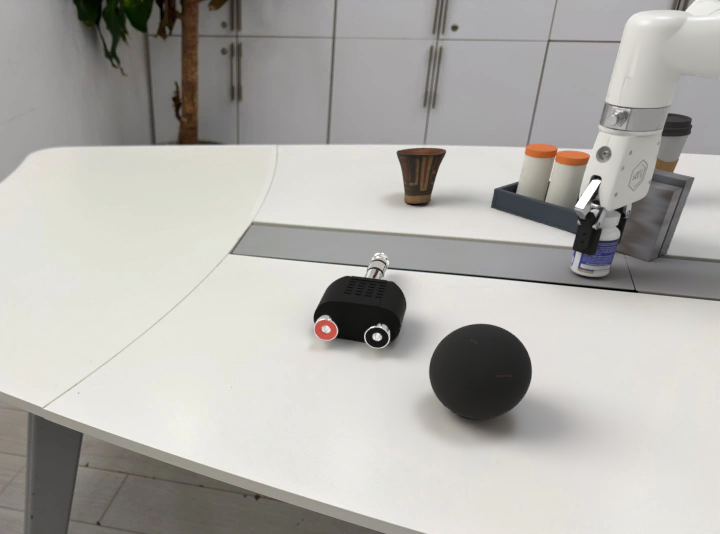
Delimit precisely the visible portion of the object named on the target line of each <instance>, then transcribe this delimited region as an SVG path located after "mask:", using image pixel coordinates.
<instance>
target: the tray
mask: <svg viewBox="0 0 720 534" xmlns="http://www.w3.org/2000/svg"><path fill="white" fill-rule="evenodd" d="M518 183H519V180H518V181H515V182H512V183H509V184H505V185H502V186H500V187H496V188H494V190H493V193H492V194H493V195H492V199H491V202H490V203H491V204H490V208H493V209H496V210H498V211H502V212H505V213H508V214H512V215H514V216H518V217H520V218H524V219H527V220H531V221H534V222H536V223H540V224H543V225H547V226H550V227H553V228H557V229H559V230H563V231H565V232H569V233H572V234H574V235H576V233H577V229H578V224H577V222H578V217H577V214H576V212H575V210H572V209H569V208H565V207H562V206H558V205H555V204H551V203H548V202H545V200H546V196H547V192H548V188H549V184H550V180H549V183H548V187H547V191H546V195H545V199H544V201H541V200H537V199H534V198H530V197H527V196H523V195H520V194H516V191H517V187H518ZM579 193H580V191H579ZM578 201H579V195H578V199H577V202H576V204H577V203H578ZM593 204H597V205H600V201H599V200H594V201H593ZM591 210H593V208H591ZM591 210H590V211H591Z"/></svg>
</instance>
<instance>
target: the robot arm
mask: <svg viewBox="0 0 720 534" xmlns="http://www.w3.org/2000/svg"><path fill="white" fill-rule="evenodd" d="M616 54H617V55H616V58H615V61H614V65H613V69H612V73H611V77H610V80H609V85H608V88H607V92H606V96H605V100H604V103H603V108H602V111H601V115H600V120H599V123H598V126H597V127H598V129H599V131H598V134H597V135H596V136H597V137H596V139H595V141H594V143H593V146H592V149H591V151H590V154H589V155H590V158H589V161H588V164H587V166H586V170H585V173H584V177H583V180H582V184H581V188H580V193H579V201H578V203H577V204H576V206H575V208H574V210H575V212H576V214H577V217H578V222H577V224H578V229H577V233H576V234H575V236H574V241H573V244H572V250H573V252H574V251H577V252H580V253H583V254H586V255H590V256H592V255H594V254H595V253H596V250H597V246H598V243H599V239H600V236H601V232H602V229H601V228H600V226H601V223H602V221H603V219H604V217H605V215H606V212H607V210H608V211H612V210H614V211H617V212H619V213H620V214H621V216H620V220H619V223H618V225H617V226H616V227H617V228H618V229H619V231H620V238H619V241H618V244H619V243H620V241H621V237H622V234H623V231H624V228H625V224H626V221H627V219H626V218H627V217H629V215H630V213H631V207H632V205H633V204H634V203H635V202H636V201H638V200H640V199H642V198H644V197H645V196H646V195H647V193H648V190H649V187H650V183H651V180H652V176H653V172H654V169H655V165H656V161H657V157H658V152H659V148H660V142H661V136H662V131H663V128H664V125H665V122H666V118H667V115H668V113H670V109H671V105H672V103H673V99H674V97H675V94H676V93H675V92H676V90H677V86H678V83H679V80H680V77H682V76H690V77H698V78H704V79H705V78H706V79H714V80H720V0H694V1H693V2H692V3H691V4H690V5H689V6H688V7H686V9H685V11H684V10H677V9H652V10H642V11H639V12H635V13H634V14H632V15H631V16H630V17H629V18H628V19H627V21H626V23H625V25H624V28H623V31H622V34H621V39H620V43H619V46H618V49H617V53H616ZM594 200H599V201H600V205H597V204H593V201H594ZM591 208H593V209H597V210H599V212H598V214H597V216H596V217H595V215H594V213H593V212H591V211H590V210H591ZM624 217H625V218H624ZM618 244H617V245H618Z"/></svg>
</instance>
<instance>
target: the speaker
mask: <svg viewBox="0 0 720 534" xmlns="http://www.w3.org/2000/svg"><path fill="white" fill-rule="evenodd" d="M428 377H429V383H430V386H431V389H432V391H433V393H434V395H435V397H436V398H437V400H439V402H440V403H441V404H442V405H443V406H444V407H445V408H446V409H448V410H449V411H451V412H452V413H454V414H456V415H458V416H461V417H463V418H466V419H467V418H468V419H471V420H472V419H473V420H487V419H493V418H497V417H500V416H503V415H504V414H506V413H508V412H510V411H511V410H513V409H514V408H515V407H516V406H517V405H519V403H521V401H522V400H523V399H524V397H525V396H526V394H527V392H528V390H529V389H530V385H531V382H532V378H533V365H532V360H531V357H530V354H529V351H528V350H527V348H526V346H525V345H524V343H523V342H522V341H521V340H520V339H519V338H518V337H517V335H515V334H513V333H512V332H511V331H509V330H508V329H505V328H503V327H501V326H498V325H494V324H491V323H473V324H467V325H464V326H461V327H458V328H456V329H454V330H452V331H451V332H450V333H448V334H447V335H446V336H444V338H442V339H441V340H440V342H439V343H438V344H437V346H436V347H435V349H434V350H433V352H432V355H431V358H430V361H429V367H428Z"/></svg>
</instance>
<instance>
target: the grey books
mask: <svg viewBox="0 0 720 534" xmlns="http://www.w3.org/2000/svg"><path fill="white" fill-rule="evenodd" d="M695 178H696V177H694V176H690V175H686V174H680V173H676V172H673V173H672V172H667V171H663V170H658V169H654V172H653V176H652V180H651V183H650V187H649V190H648V193H647V195H646V196H645V197H644V198H642V199H640V200H638V201H636V202H635V203H634V204H633V205H632V207H631V213H630V215H629V217H627V218H626V219H627V221H626V224H625V228H624V231H623V234H622V237H621V241H620V243H619V244H618V245H617V248H616V251H615V252H618V253H620V254H624V255H626V256H627V255H628V256H630V257H633V258H637V259H640V260H642V261H646V262H651V261H653V260H655V259H657V258H660V257H662V256H664V255H667V254H668V251H669V248H670V246H671V243H672V240H673V237H674V235H675V233H676V230H677V227H678V224H679V221H680V218H681V216H682V213H683V210H684V208H685V205H686V203H687V200H688V198H689V196H690V192H691V189H692V188H693V187H692V186H693V184H694V181H695ZM624 218H625V217H624Z"/></svg>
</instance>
